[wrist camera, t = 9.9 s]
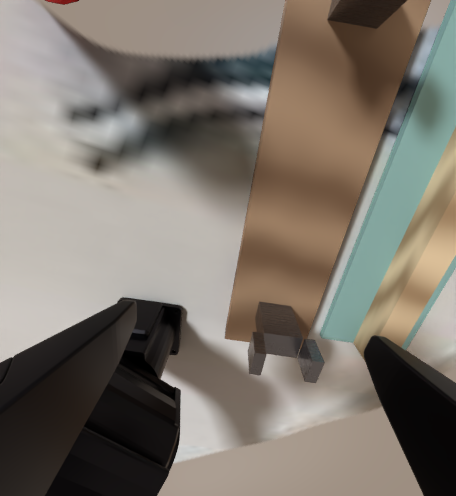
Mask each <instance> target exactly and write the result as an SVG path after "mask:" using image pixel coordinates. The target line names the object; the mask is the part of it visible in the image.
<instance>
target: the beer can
mask: <svg viewBox="0 0 456 496" xmlns="http://www.w3.org/2000/svg"><path fill="white" fill-rule="evenodd" d="M45 1H48V2H52V3H57V4H63V5H65V4H69V3H73V2H77V1H79V0H45Z"/></svg>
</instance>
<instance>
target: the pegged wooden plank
mask: <svg viewBox="0 0 456 496" xmlns="http://www.w3.org/2000/svg"><path fill="white" fill-rule="evenodd" d="M406 1H407V0H332V2H331V6H330V10H329V14H328V18H327V20H329V21H335V22H341V23H347V24H352V25H358V26H364V27H369V28H375V29H377V28H378V27H379V26H380V25H382V24H383V23H384V22H385V21H386V20H387V19H388V18H389V17H390V16H391V15H392V14H393V13H394V12H395V11H397V10H398V9H399V8H400V7H401V6H402V5H403V4H404V3H405V2H406ZM255 322H256V330H257V332H252V336H251V340H250V344H249V349H248V361H249V374H254V375H261V372H262V368H263V365H264V361H265V358H266V354H273V355H280V356H288V357H295V358H296V357H297V354H298V352H299V349H300V346H301V343H302V340H303V337H302V334H301V331H300V329H299V326H298V323H297V321H296V318H295V315H294V313H293V310H292V307H291V306H287V305H280V304H273V303H266V302H260V301H259V305H258V309H257V313H256V317H255ZM298 361H299V364H300V367H301V371H302V374H303V377H304V380H305V382H312V383H316V381H317V379H318V377H319V374H320V372H321V370H322V367H323V365H324V360H323V358H322V356H321V353H320V351H319V349H318V346H317V344H316V342H315V340H310V339H304V341H303V344H302V347H301V350H300V352H299V355H298Z"/></svg>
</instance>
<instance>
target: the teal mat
mask: <svg viewBox="0 0 456 496" xmlns="http://www.w3.org/2000/svg"><path fill="white" fill-rule="evenodd" d="M455 127H456V0H451V1H450V4H449V6H448V9H447V11H446V14H445V16H444V19H443V22H442V24H441V26H440V29H439V32H438V34H437V37H436V39H435V42H434V44H433V47H432V49H431V52H430V54H429V57H428V60H427V62H426V65H425V67H424V70H423V72H422V75H421V77H420V80H419V83H418V85H417V88H416V90H415V93H414V95H413V98H412V100H411V103H410V105H409V108H408V111H407V113H406V116H405V118H404V121H403V123H402V126H401V128H400V131H399V133H398V136H397V139H396V141H395V144H394V146H393V149H392V151H391V154H390V156H389V159H388V162H387V164H386V167H385V169H384V172H383V174H382V177H381V179H380V182H379V184H378V187H377V190H376V192H375V195H374V197H373V200H372V202H371V205H370V207H369V210H368V212H367V215H366V218H365V220H364V223H363V225H362V228H361V230H360V233H359V235H358V238H357V241H356V243H355V246H354V248H353V251H352V253H351V256H350V258H349V261H348V263H347V266H346V269H345V271H344V274H343V276H342V279H341V281H340V284H339V286H338V289H337V291H336V294H335V297H334V299H333V302H332V304H331V307H330V309H329V312H328V314H327V317H326V320H325V322H324V325H323V327H322V330H321V332H320V336H321V338H323V339H330V340H337V341H344V342H351V343H353V342H354V340H355V337H356V335H357V333H358V331H359V329H360V327H361V325H362V323H363V321H364V319H365V316H366V314H367V312H368V310H369V308H370V306H371V304H372V302H373V300H374V297H375V295H376V293H377V291H378V289H379V287H380V285H381V283H382V281H383V279H384V276H385V274H386V272H387V270H388V268H389V266H390V264H391V262H392V260H393V257H394V255H395V253H396V251H397V249H398V247H399V245H400V243H401V241H402V239H403V236H404V234H405V232H406V230H407V228H408V226H409V224H410V222H411V220H412V217H413V215H414V213H415V211H416V209H417V207H418V205H419V203H420V201H421V199H422V196H423V194H424V192H425V190H426V188H427V186H428V184H429V182H430V180H431V177H432V175H433V173H434V171H435V169H436V167H437V165H438V163H439V161H440V159H441V156H442V154H443V152H444V150H445V148H446V146H447V144H448V142H449V140H450V137H451V135H452V133H453V131H454V129H455ZM455 268H456V255H455V257H454V259H453V260H452V262H451V264H450V266H449V267H448V269H447V271H446V272H445V274H444V276H443V277H442V279H441V281H440V283H439V284H438V286H437V288H436V289H435V291H434V293H433V294H432V296H431V298H430V299H429V301H428V303H427V305H426V306H425V308H424V310H423V311H422V313H421V315H420V316H419V318H418V320H417V321H416V323H415V325H414V327H413V328H412V330H411V332H410V333H409V335H408V337H407V338H406V340H405V342H404V344H403V345H402V347H401V348H403V349H404V350H406V349H407V347H408V346H409V344H410V342H411V341H412V339H413V338H414V336H415V334H416V333H417V331H418V329H419V328H420V326H421V324H422V323H423V321H424V319H425V318H426V316H427V314H428V313H429V311H430V309H431V308H432V306H433V304H434V303H435V301H436V299H437V298H438V296H439V295H440V293H441V291H442V290H443V288H444V286H445V285H446V283H447V281H448V280H449V278H450V276H451V275H452V273H453V271H454V270H455Z"/></svg>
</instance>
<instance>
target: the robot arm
mask: <svg viewBox="0 0 456 496" xmlns="http://www.w3.org/2000/svg"><path fill="white" fill-rule="evenodd" d="M176 310H178V311H176ZM181 321H182V307H181V306H179V305H173V304H166V303H159V302H152V301H145V300H138V299H131V298H120V300H119V301H118V303H117V304H115V305H113V306H111V307H109V308H107V309H105V310H103V311H101V312H99V313H97V314H95V315H93V316H91V317H89V318H87V319H85V320H83V321H81V322H79V323H77V324H75V325H73V326H71V327H70V328H68V329H66V330H64V331H62V332H60V333H58V334H56V335H54V336H52V337H50V338H48V339H46V340H44V341H42V342H40V343H38V344H36V345H34V346H32V347H30V348H28V349H26V350H24V351H22V352H20V353H19V354H17V355H15V356H14V357H13V358H12V357H11V358H9V359H7V360H5V361H3V362H1V363H0V496H157V495H158V493H159V491H160V489H161V487H162V486H163V484H164V482H165V480H166V478H167V477H168V474H169V471H170V468H171V466H172V464H173V461H174V459H175V456H176V453H177V449H178V445H179V438H180V395H181V391H180V390H179V389H178V388H176V387H172V386H170V385H169V384H167V383H166V382H164V381H162V380H161V376H162V374H163V371H164V368H165V365H166V362H167V359H168V356H169V355H177V354H178V352H179V345H180V333H181ZM174 350H175V351H174ZM364 359H365V362H366V364H367V367H368V370H369V373H370V375H371V378H372V381H373V384H374V386H375V389H376V392H377V394H378V397H379V400H380V402H381V404H382V406H383V409H384V411H385V413H386V415H387V417H388V419H389V422H390V424H391V426H392V428H393V430H394V432H395V434H396V437H397V439H398V441H399V443H400V445H401V447H402V450H403V452H404V454H405V456H406V458H407V460H408V462H409V465H410V466H411V469H412V471H413V473H414V475H415V477H416V480H417V482H418V484H419V486H420V488H421V490H422V492H423V495H424V496H456V383H455V382H453V381H452V380H450V379H449V378H447V377H446V376H444V375H443V374H441V373H440V372H438V371H437V370H435V369H434V368H432V367H430V366H429V365H427V364H426V363H424V362H423V361H421V360H420V359H418V358H417V357H415V356H414V355H412V354H411V353H409V352H408V351H406V350H404V349H403V348H401V347H400V346H398V345H397V344H395V343H394V342H392V341H391V340H389V339H388V338H386V337H383V336H377V335H373V336H372V337H371V338H370V340H369V342H368V344H367V346H366V347H365V349H364Z"/></svg>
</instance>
